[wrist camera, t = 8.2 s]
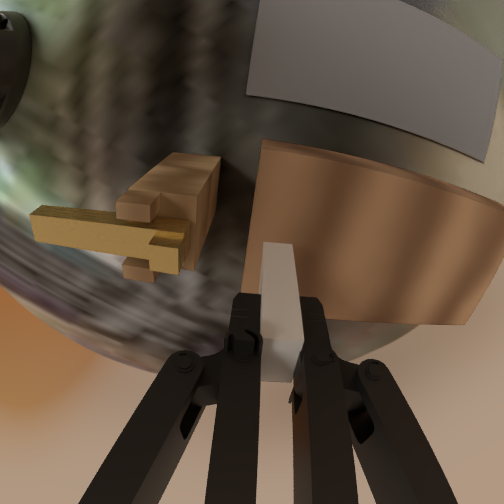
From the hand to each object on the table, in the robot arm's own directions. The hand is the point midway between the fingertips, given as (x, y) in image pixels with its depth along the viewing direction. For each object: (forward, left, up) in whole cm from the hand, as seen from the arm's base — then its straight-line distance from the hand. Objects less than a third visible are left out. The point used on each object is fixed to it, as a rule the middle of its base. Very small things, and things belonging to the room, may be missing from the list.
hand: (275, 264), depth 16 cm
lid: (+9, 0, -5) cm, 10 cm away
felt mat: (+9, +14, -11) cm, 20 cm away
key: (-11, 0, -2) cm, 11 cm away
